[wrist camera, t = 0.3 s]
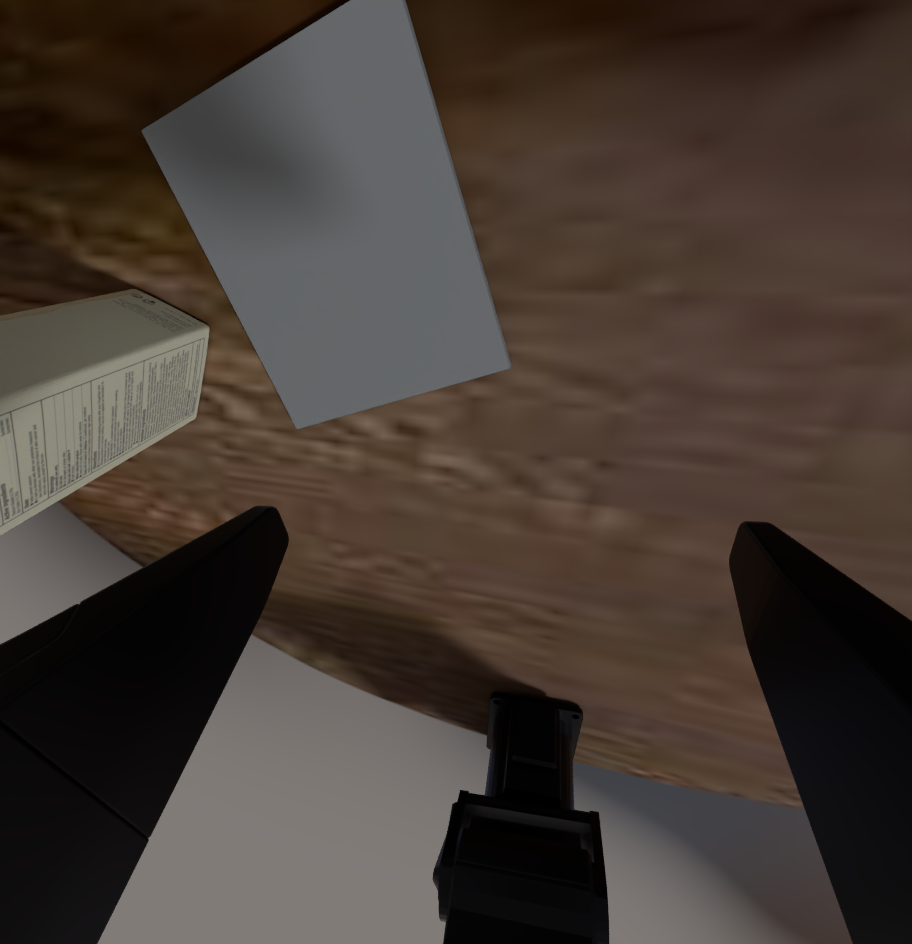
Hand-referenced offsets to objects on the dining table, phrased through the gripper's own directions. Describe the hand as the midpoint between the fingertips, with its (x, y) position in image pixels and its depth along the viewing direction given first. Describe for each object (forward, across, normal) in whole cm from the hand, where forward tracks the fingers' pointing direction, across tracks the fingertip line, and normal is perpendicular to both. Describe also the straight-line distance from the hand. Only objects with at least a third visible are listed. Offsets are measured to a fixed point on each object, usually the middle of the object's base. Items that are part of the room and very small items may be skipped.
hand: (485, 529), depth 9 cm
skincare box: (+14, +19, +1) cm, 24 cm away
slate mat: (+14, +8, -3) cm, 17 cm away
